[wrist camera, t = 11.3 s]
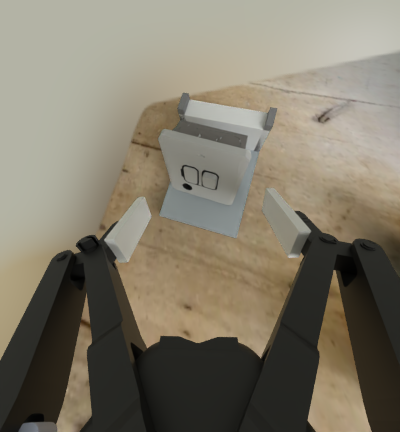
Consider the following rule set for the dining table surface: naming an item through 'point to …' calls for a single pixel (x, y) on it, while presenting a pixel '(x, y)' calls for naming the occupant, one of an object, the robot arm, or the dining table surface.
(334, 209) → the dining table surface
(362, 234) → the dining table surface
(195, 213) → the rail board
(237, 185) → the electrical switch
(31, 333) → the robot arm
